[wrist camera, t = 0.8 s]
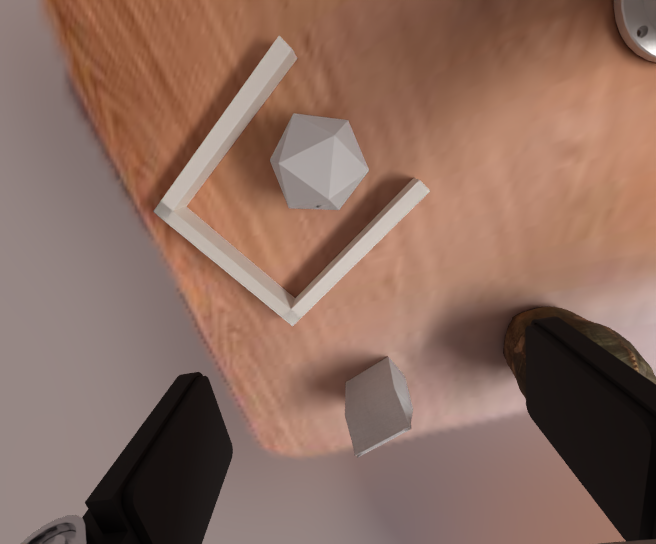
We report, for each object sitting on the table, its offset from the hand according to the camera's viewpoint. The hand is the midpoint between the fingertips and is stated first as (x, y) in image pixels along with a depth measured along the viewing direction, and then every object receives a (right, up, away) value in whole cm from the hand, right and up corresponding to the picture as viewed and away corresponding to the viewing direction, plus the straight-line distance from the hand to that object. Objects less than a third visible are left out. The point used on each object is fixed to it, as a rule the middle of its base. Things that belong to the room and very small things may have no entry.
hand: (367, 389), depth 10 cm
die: (-2, +15, +25) cm, 29 cm away
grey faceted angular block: (+5, -10, +34) cm, 36 cm away
